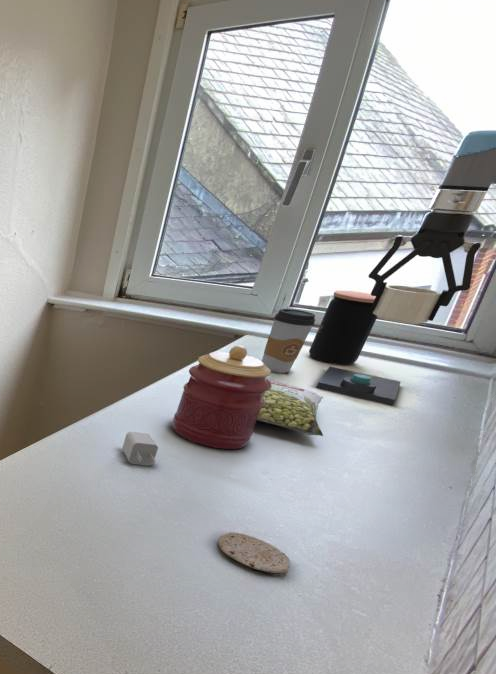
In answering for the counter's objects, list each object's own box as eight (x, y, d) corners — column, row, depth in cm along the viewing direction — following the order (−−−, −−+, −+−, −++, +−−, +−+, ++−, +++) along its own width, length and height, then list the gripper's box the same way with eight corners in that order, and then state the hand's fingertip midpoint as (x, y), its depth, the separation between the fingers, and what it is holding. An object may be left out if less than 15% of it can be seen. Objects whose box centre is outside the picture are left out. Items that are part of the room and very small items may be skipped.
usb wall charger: (145, 454, 97) (151, 433, 95) (157, 473, 91) (164, 452, 89) (121, 451, 97) (127, 431, 95) (131, 470, 91) (138, 449, 89)
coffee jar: (326, 352, 159) (353, 290, 151) (364, 364, 149) (396, 299, 141) (297, 354, 156) (324, 290, 148) (335, 366, 147) (366, 299, 139)
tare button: (368, 383, 128) (372, 376, 127) (367, 386, 126) (370, 379, 125) (351, 379, 130) (354, 372, 129) (349, 382, 128) (353, 375, 127)
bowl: (426, 320, 128) (442, 290, 125) (424, 327, 122) (441, 296, 119) (373, 312, 134) (387, 283, 131) (369, 318, 128) (383, 288, 125)
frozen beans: (203, 388, 110) (220, 359, 128) (193, 414, 112) (211, 382, 130) (331, 422, 99) (330, 385, 117) (316, 450, 102) (317, 409, 120)
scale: (398, 386, 134) (404, 375, 133) (392, 406, 122) (398, 393, 121) (327, 371, 143) (332, 360, 142) (315, 388, 131) (320, 376, 130)
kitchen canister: (155, 424, 108) (182, 337, 100) (204, 417, 112) (233, 333, 105) (212, 454, 97) (248, 360, 90) (264, 446, 101) (302, 355, 94)
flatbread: (205, 547, 73) (208, 541, 72) (234, 530, 76) (237, 525, 76) (272, 584, 67) (276, 577, 66) (300, 564, 70) (304, 558, 70)
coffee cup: (265, 373, 140) (288, 315, 133) (249, 362, 147) (270, 307, 140) (300, 376, 139) (325, 317, 132) (282, 365, 146) (305, 309, 139)
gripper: (382, 208, 122) (338, 307, 132) (528, 218, 108) (467, 328, 118) (385, 207, 127) (342, 303, 137) (525, 216, 113) (466, 322, 123)
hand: (400, 314), depth 128 cm, fingers closed on bowl, 10 cm apart
